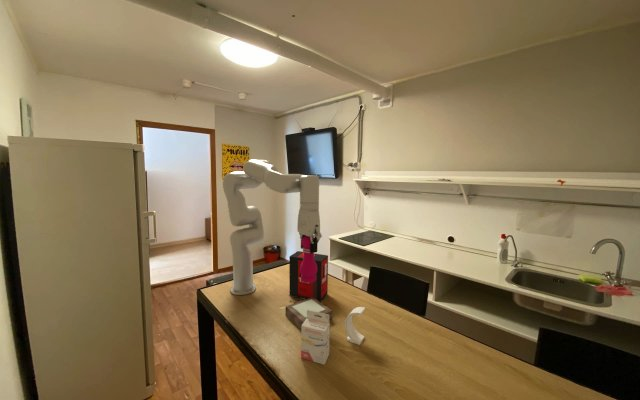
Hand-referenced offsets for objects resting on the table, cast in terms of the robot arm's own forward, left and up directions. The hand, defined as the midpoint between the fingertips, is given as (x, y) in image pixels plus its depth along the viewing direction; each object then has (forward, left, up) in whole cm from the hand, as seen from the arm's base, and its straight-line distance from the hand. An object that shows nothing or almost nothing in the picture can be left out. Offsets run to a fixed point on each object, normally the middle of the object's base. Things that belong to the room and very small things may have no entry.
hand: (308, 249), depth 104 cm
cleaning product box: (-16, +11, -29) cm, 35 cm away
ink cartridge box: (+20, -11, -29) cm, 37 cm away
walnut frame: (0, 0, -29) cm, 29 cm away
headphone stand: (+21, +6, -29) cm, 37 cm away
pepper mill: (0, 0, -13) cm, 13 cm away
